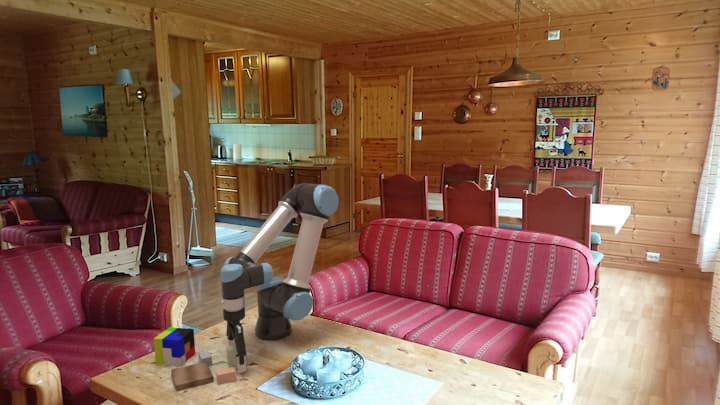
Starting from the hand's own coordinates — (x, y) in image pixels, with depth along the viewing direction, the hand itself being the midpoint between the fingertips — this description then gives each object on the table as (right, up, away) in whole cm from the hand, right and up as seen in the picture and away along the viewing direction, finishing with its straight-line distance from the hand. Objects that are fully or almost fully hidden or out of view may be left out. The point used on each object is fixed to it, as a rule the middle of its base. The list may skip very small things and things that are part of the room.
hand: (237, 364), depth 175 cm
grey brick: (-12, 0, +2) cm, 12 cm away
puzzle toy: (-24, 0, +5) cm, 25 cm away
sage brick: (0, 0, 0) cm, 0 cm away
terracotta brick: (-1, -2, -11) cm, 11 cm away
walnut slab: (-13, -2, -9) cm, 16 cm away
